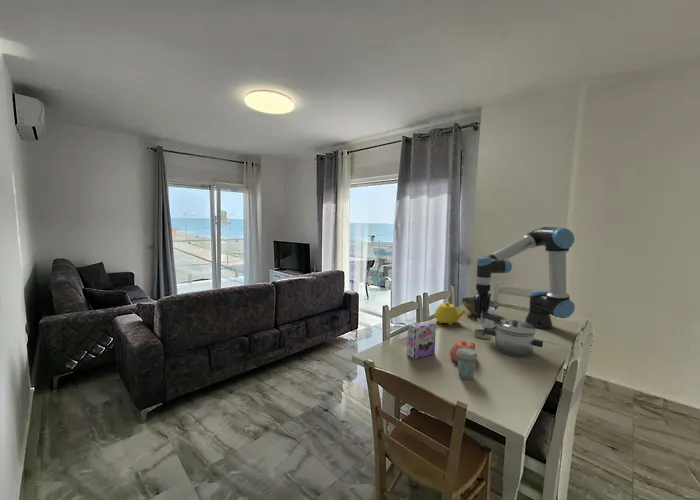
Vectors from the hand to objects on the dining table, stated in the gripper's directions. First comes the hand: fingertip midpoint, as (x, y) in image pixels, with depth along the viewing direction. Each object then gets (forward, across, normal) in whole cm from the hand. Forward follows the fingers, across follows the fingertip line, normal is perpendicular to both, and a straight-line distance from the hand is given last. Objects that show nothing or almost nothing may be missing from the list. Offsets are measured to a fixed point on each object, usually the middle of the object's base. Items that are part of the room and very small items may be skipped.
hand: (481, 322), depth 177 cm
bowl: (+9, -36, -25) cm, 45 cm away
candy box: (+9, +46, -4) cm, 47 cm away
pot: (+9, 0, +20) cm, 21 cm away
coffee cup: (+9, +46, +22) cm, 52 cm away
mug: (+9, -19, -9) cm, 23 cm away
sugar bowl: (+9, +33, +12) cm, 36 cm away
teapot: (+9, -5, -26) cm, 28 cm away
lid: (-3, 0, +13) cm, 13 cm away
